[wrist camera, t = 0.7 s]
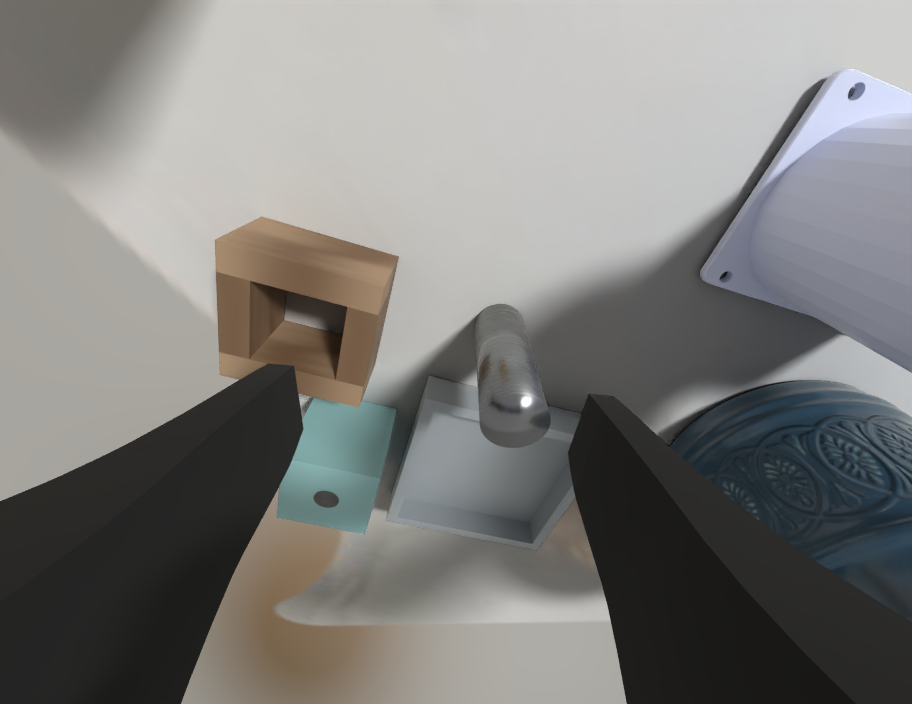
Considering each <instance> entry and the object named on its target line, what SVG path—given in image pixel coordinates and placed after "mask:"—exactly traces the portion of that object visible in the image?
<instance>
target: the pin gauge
mask: <svg viewBox="0 0 912 704" xmlns="http://www.w3.org/2000/svg"><path fill="white" fill-rule="evenodd" d="M475 340H476V361H477V381H478V401H479V422H480V429H481V432H482V433H483V435H484V436H485V438H487V439H488V440H489V441H490V442H492V443H493V444H495V445H498V446H501V447H506V448H521V447H525V446H529V445H531V444H533V443H535V442H537V441H538V440H540V439H541V438H542V437H543V436H544V435H545V434H546V433H547V431H548V429H549V427H550V423H551V416H550V412H549V409H548V405H547V402H546V398H545V395H544V391H543V388H542V384H541V381H540V378H539V374H538V371H537V367H536V364H535V360H534V357H533V353H532V350H531V346H530V343H529V339H528V336H527V332H526V329H525V325H524V322H523V319H522V316H521V314H520V313H519V312H518V311H517V310H516V309H515V308H513V307H511V306H509V305H505V304H496V305H492V306H489V307H487V308H485V309H484V310H483V311H482V312H481V313H480V314H479V315H478V317H477V319H476V322H475Z"/></svg>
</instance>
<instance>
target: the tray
mask: <svg viewBox="0 0 912 704" xmlns="http://www.w3.org/2000/svg"><path fill="white" fill-rule="evenodd" d="M548 409H549V412H550V416H551V423H550V427H549V429H548V431H547V433H546V434H545V435H544V436H543V437H542V438H541V439H540V440H538V441H537V442H535V443H533V444H531V445H529V446H525V447H521V448H506V447H501V446H498V445H495V444H493V443H492V442H490V441H489V440H488V439H487V438H485V436H484V435H483V433H482V432H481V429H480V422H479V401H478V388H477V387H473V386H469V385H465V384H461V383H457V382H453V381H449V380H445V379H441V378H437V377H433V376H428V379H427V382H426V386H425V389H424V392H423V395H422V398H421V401H420V405H419V408H418V411H417V414H416V417H415V420H414V424H413V427H412V430H411V433H410V436H409V439H408V443H407V446H406V449H405V452H404V455H403V458H402V462H401V465H400V468H399V471H398V474H397V477H396V481H395V484H394V487H393V490H392V493H391V498H390V503H389V508H388V513H387V518H386V521H389V522H394V523H399V524H404V525H409V526H415V527H420V528H425V529H430V530H435V531H440V532H445V533H450V534H455V535H460V536H465V537H471V538H476V539H481V540H486V541H491V542H496V543H501V544H506V545H511V546H516V547H521V548H527V549H532V550H538V549H539V547H540V546H541V544H542V543H543V542H544V540H545V539H546V537H547V536H548V535H549V533H550V532H551V530H552V529H553V527H554V526H555V525H556V523H557V522H558V520H559V519H560V518H561V516H562V515H563V513H564V512H565V511H566V509H567V508H568V506H569V505H570V504H571V502H572V501H573V499H574V498H575V493H574V489H573V483H572V478H571V472H570V465H569V459H568V451H569V448H570V445H571V442H572V439H573V437H574V434H575V431H576V428H577V425H578V423H579V420H580V417H581V414H580V413H576V412H572V411H568V410H564V409H560V408H556V407H552V406H548Z"/></svg>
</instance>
